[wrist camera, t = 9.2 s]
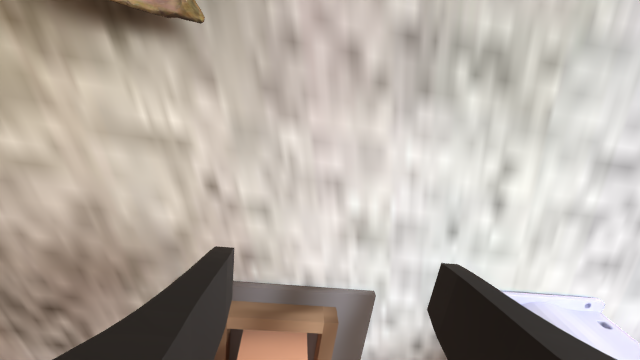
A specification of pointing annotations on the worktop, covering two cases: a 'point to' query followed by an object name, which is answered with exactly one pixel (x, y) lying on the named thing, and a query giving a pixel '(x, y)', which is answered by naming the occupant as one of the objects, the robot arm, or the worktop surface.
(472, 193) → the worktop surface
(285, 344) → the keyed block
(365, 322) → the collar
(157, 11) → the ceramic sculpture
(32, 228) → the worktop surface
